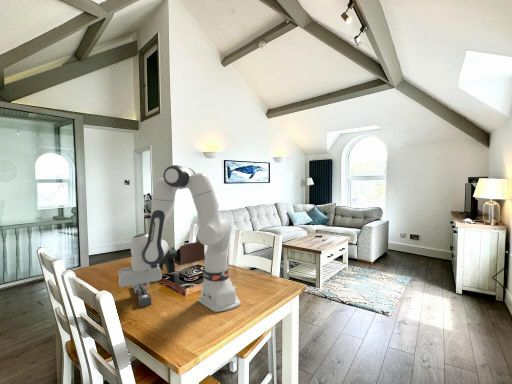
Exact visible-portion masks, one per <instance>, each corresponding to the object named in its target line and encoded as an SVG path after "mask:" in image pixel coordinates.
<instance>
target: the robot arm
mask: <svg viewBox="0 0 512 384" xmlns="http://www.w3.org/2000/svg"><path fill="white" fill-rule="evenodd" d="M162 176H163V177H160V178H158V179H157V180H156V181H155V184H154V186H153V189H152V195H151V196H152V197H151V206H150V207H151V209H150V210H151V212H150V214H151V215H150V221H149V222H150V223H149V229H148V233H146V232H143V233H140V234H139V233H138V234H137V235H134V236H133V237H132V238H131V242H130V243H131V244H130V253H131V258H130V263H131V264H130V266H131V267H130V266H128V267H122V268H120V269H119V270H118V271H117V276H118V278H119V279H118V286H119V287H120V288H126V287H132V288H133V290H134V294H138V288H137V289H136V288H135V287H136V285H137V284H143V285H144V284H146V285H145V286H144V288H145V290H146V292H148V288H149V287H150V285H151V283H152V282H153V283H154V282H158V281H161V280H162V279H163V274H162V273H163V272H162V270H161V269H160V268H159V263H160V262H161V261H162V259H163V257H164V256H165V255H166V253H167V252H168V250H169V248H170V246H169V243H167V242H168V241H166V240H165V239H163V233H164V227H165V225H166V222H167V220H168V219H169V218H170V216H171V215H172V213H173V210H174V208H175V207H174V206H175V198H176V194H177V193H176V192H177V191H178V190H183V189H188V190H189V191H190V194H191V198H192V200H193V203H194V206H195V209H196V213H197V220H198V221H197V223H198V230H197V233H196V235H197V236H196V237H197V240H198V242H200V243H202V244H203V245H204V246H206V249H205V259H204V270H203V277H204V278H203V281H202V282H201V291H200V297H199V298H198V299H197V301H198V302H199V303H200V304H201V305H203V306H205V307H206V308H208V309H209V310H211V311H213V312H215V313H216V312H225V311H229V310H233V309H235V308H237V307H239V306H241V304H242V303H241V300H240V299H239V297H238V296H237V295H236V291H237V286H235V285H234V286H233V281H232V280H231V279H230V273H229V269H228V250H229V249H228V248H229V243H230V237H231V232H232V224H231V222H230V221H229V220H228V219H227V218H219V202H218V199H217V196H216V193H215V190H214V188H213V185H212V183H211V181H210V179H209V177H208V176H207V175H206V173H202V172H197V173H196V172H195V171H194V170H193V169H192V168H189V167H186V166H183V165H176V164H173V165H170V166H168V167H166V169H165V170H164V171H163V174H162Z"/></svg>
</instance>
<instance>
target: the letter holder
mask: <svg viewBox="0 0 512 384" xmlns="http://www.w3.org/2000/svg"><path fill="white" fill-rule="evenodd" d="M205 252H206V250H205V245H203V244H202V243H200V242H199V241H196V242H190V243H186V244H184V245H180V247H179V248H178V249H177V250H176V257H175V258H174V263H175V264H178V265H180V266H182V265H186V264H190V263H195V262H198V261H203V260H205Z"/></svg>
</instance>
